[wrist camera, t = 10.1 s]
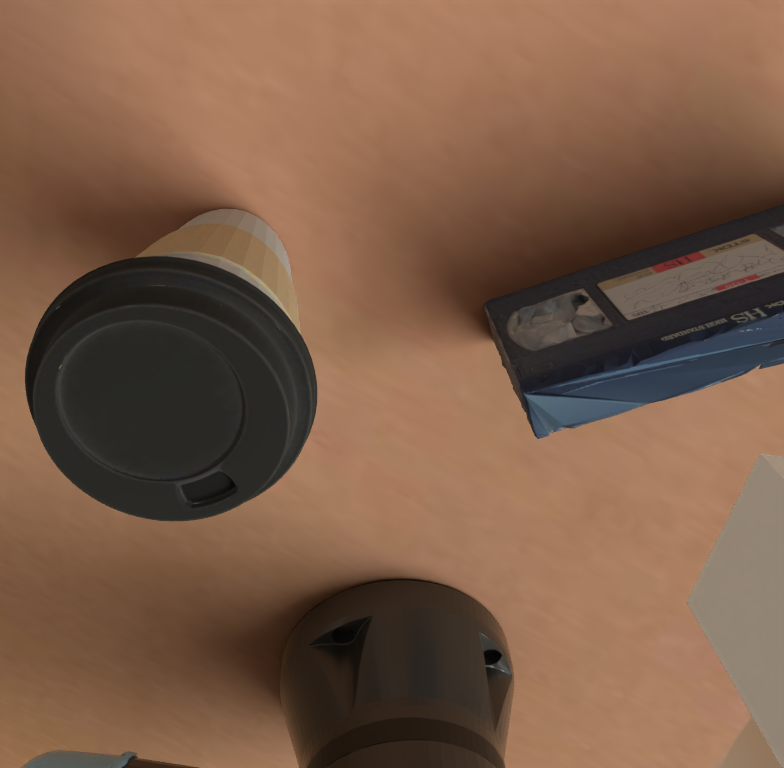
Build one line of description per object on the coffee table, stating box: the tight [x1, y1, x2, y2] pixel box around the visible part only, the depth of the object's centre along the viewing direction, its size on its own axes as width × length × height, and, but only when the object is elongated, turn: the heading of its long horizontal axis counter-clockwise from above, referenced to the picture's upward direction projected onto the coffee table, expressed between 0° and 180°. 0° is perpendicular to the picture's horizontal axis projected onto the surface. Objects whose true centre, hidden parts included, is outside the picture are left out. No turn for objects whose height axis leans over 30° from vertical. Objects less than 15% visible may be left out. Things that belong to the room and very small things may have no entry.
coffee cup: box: [25, 209, 317, 521], centre depth 30 cm, size 9×9×15 cm
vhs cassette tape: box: [484, 205, 784, 439], centre depth 34 cm, size 18×3×10 cm, turn 107°
